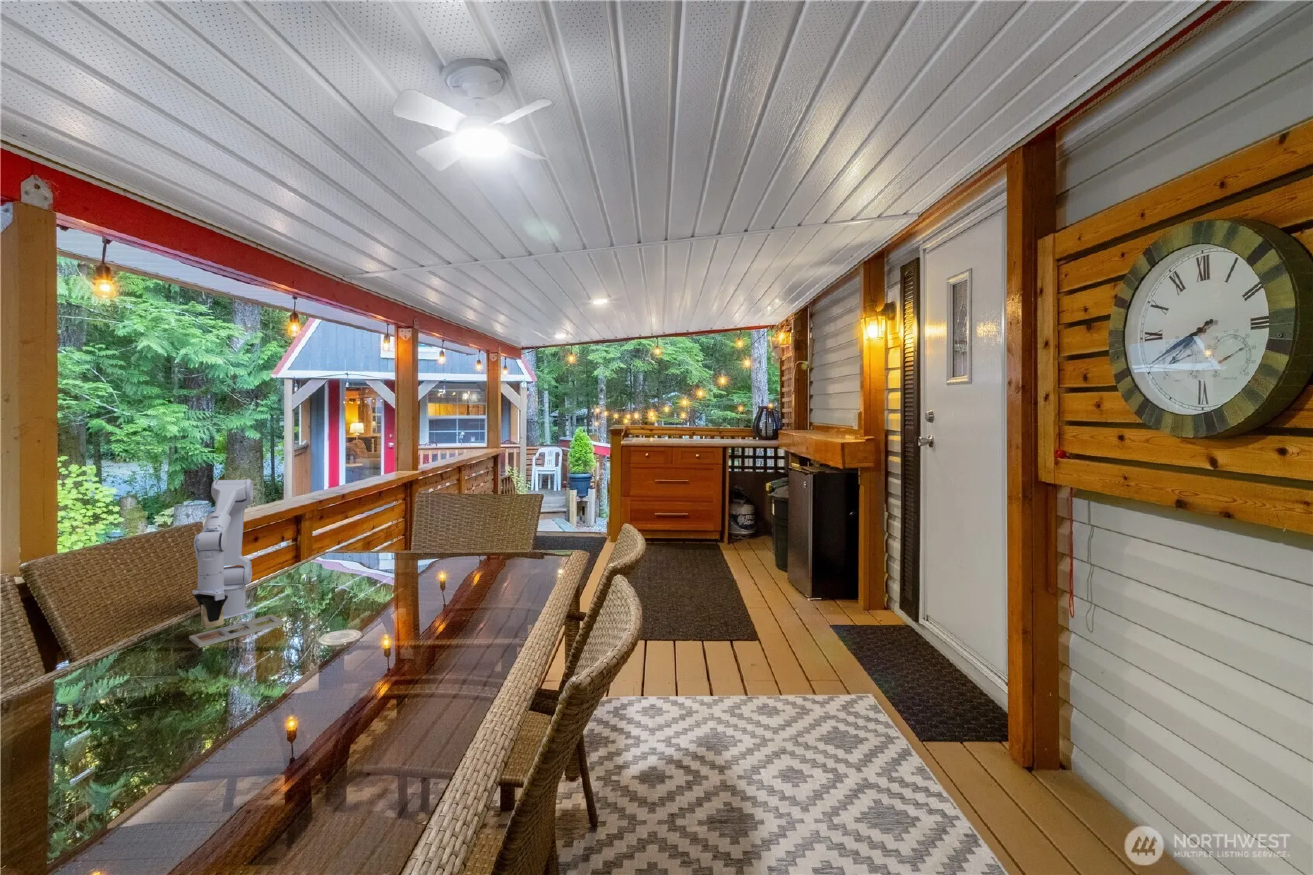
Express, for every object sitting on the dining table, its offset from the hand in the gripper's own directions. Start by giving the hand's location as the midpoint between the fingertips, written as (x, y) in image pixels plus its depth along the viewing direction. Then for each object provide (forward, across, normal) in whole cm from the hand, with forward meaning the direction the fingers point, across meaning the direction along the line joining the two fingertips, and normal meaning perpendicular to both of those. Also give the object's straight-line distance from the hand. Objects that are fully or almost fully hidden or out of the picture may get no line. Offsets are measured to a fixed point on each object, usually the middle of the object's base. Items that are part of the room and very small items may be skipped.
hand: (210, 618), depth 150 cm
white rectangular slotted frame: (+6, 0, +6) cm, 9 cm away
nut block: (+2, 0, 0) cm, 2 cm away
